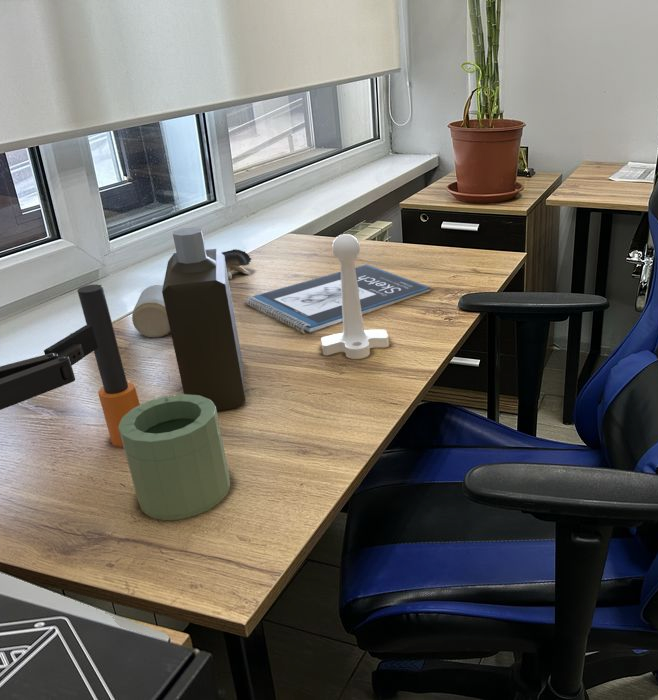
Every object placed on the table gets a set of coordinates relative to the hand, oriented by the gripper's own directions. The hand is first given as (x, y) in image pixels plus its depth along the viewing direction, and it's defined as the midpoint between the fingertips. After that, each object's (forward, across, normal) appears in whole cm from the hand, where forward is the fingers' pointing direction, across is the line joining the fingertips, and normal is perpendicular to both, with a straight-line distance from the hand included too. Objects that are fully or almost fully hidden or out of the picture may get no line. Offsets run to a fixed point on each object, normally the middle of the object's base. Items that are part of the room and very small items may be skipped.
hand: (37, 333), depth 78 cm
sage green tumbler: (0, +14, -20) cm, 25 cm away
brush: (+10, 0, -20) cm, 23 cm away
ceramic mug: (+45, -15, -20) cm, 51 cm away
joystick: (+41, +22, -20) cm, 51 cm away
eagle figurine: (+73, -17, -20) cm, 77 cm away
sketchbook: (+64, +11, -20) cm, 68 cm away
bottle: (+25, +5, -20) cm, 33 cm away
